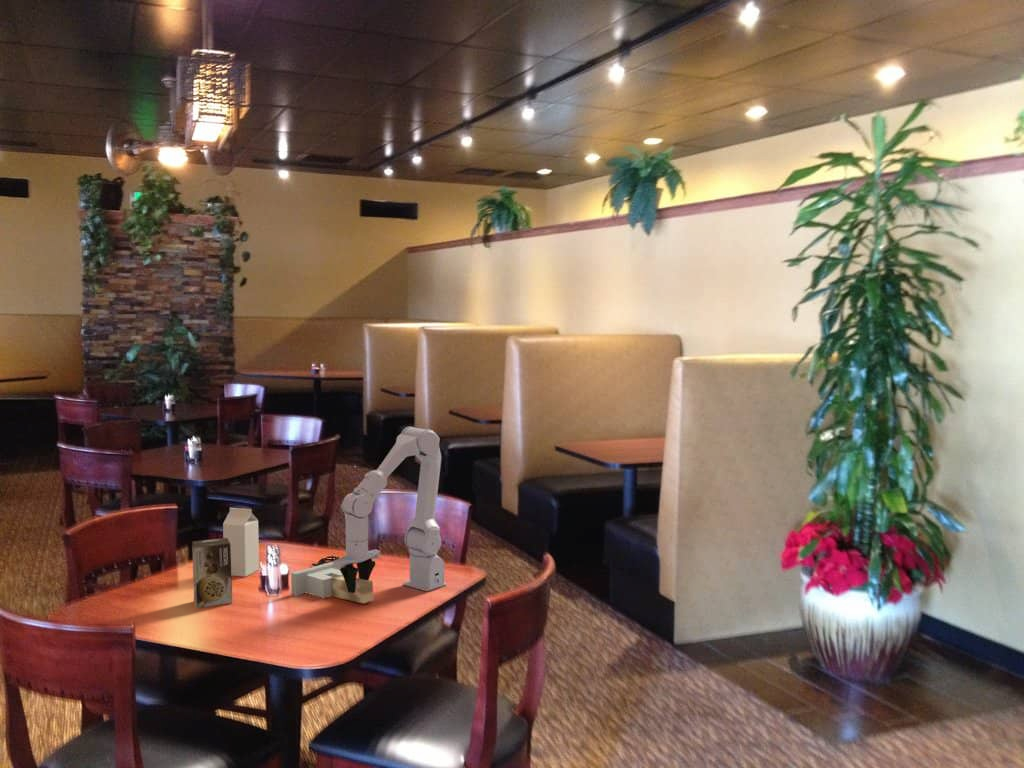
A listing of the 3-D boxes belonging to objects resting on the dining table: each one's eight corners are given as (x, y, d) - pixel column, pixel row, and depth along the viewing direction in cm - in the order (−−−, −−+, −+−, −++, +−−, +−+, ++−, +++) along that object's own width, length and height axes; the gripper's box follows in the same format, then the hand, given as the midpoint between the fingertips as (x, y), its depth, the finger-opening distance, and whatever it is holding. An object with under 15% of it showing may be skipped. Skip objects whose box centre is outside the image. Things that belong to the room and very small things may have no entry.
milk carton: (245, 577, 251) (244, 511, 249) (223, 575, 253) (222, 510, 251) (259, 570, 258) (258, 506, 256) (238, 568, 260) (236, 505, 258)
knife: (306, 585, 245) (306, 580, 245) (285, 583, 247) (285, 578, 247) (346, 561, 270) (345, 556, 270) (326, 559, 271) (326, 554, 271)
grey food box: (229, 596, 234) (228, 537, 233) (232, 603, 228) (231, 542, 227) (193, 601, 230) (191, 540, 229) (195, 608, 224) (194, 546, 223)
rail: (373, 600, 229) (372, 581, 229) (363, 603, 227) (362, 584, 227) (336, 591, 239) (335, 573, 239) (325, 594, 236) (325, 576, 236)
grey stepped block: (359, 587, 242) (359, 566, 242) (312, 601, 230) (312, 579, 229) (338, 580, 248) (338, 560, 247) (291, 594, 236) (291, 572, 235)
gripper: (367, 531, 238) (368, 580, 239) (325, 542, 226) (325, 593, 228) (385, 535, 233) (385, 585, 234) (342, 546, 222) (343, 599, 223)
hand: (357, 590), depth 231 cm, fingers closed on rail, 3 cm apart
